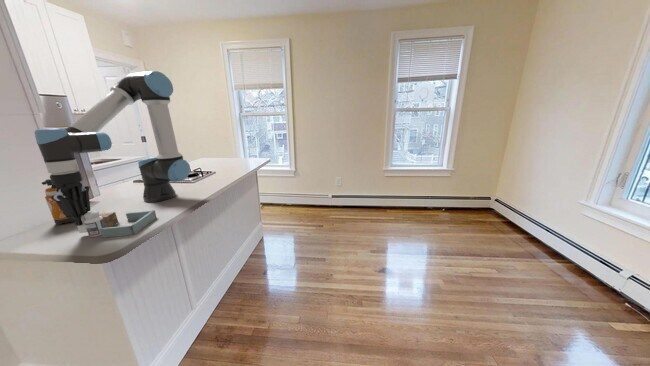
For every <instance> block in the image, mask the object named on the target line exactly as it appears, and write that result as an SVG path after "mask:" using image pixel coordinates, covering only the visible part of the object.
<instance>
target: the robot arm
mask: <svg viewBox="0 0 650 366" xmlns="http://www.w3.org/2000/svg"><path fill="white" fill-rule="evenodd" d="M109 90H110V92H109V93H107V95H105V96H104V97H103V98H101V99H100V100H99V101H98V102H97V103H95V104H94V105H93V106H92V107H91V108H90V109H88V110H87V111H86V112H85V113H84V114H83V115H81V116H80V117H79V118H77V120H75V121H73V123H71V124H70V125H69V126H68V127H67V128H64V127H61V128H60V127H59V128H38V129H36V130H34V137H35V142H36V144H37V146H38V149H39V151H40V153H41V156H42V159H43V161H44V164H45V167H46V169H47V172H48V174H50V175H49V178H50V180H51V182H52V184H53V185H55V186H56V187H57V190H56V191H57V194H56V195H55V196H51V199H53V200H54V201H55V202H56V203H57V204H58V206H59V207H60V209H61V210H62V212H63V213H64V215H65V216H66V218H73V219H74V222H73V223H74V224H75V226H76V227H77V229H78V233H79V234H81V233H82V234H83V233H88V232H87V229H86V226H85V223H84V221H85V220H86V218H85V217H84V214H86V213H89V212H91V204H90V203H91V202H90V193H89V191H90V186H89V185H83V183H82V181H83V177H82V174H81V172H80V171H79V170H80V168H79V165H78V162H77V158H76V155H79V154H87V153H96V152H97V153H98V152H104V151H105V152H106V151H109V150H111V148H112V145H113V143H112V139H111V137H110V136H109V134H108V133H106V132H104V131H101V130H102V129H103V128H104V127H106V125H107V124H109V122H111V121H112V120H113V119H114V118H115V117H116V116H117V115H119V113H121V111H123V110H124V109H125V108H126V107H127V106H132V105H134V103H136V102H137V101H138V100H140V101H141V102H142V103H143V104H145V105H146V107H147V112H148V115H149V120H150V123H151V127H152V131H153V136H154V139H155V140H154V141H155V144H156V147H157V152H158V155H157V156H155V157H148V158H144V159H140V160H138V169H139V172H140V175H141V179H142V182H143V186H144V188H143V196H142V197H143V201H144V202H145V203H156V202H162V201H166V200H170V199H173V198H174V197H176V195H177V194H176V191H175V189H174V187H173V186H172V184H171V183H170V182H173V183H174V182H175V183H177V182H182V181H185V180H186V179H187V178H188V177H189V175H190V173H191V166H190V163H189V162H188V161H187V160H185V159H184V156H183V154H182V153H180V152H179V149H178V144H177V141H176V135H175V131H174V128H173V127H174V126H173V122H172V119H171V118H172V117H171V114H170V108H169V106H168V105H169V104H170V103H171V98H170V97H171V96H172V95H173V93H174V86H173V83H172V82H171V79H170V78H169V77H167V75H166V74H164V73H163V72H161V71H158V70H146V71H140V72H131V73H128V74H127V75H125V76H124V77H123V78H121V79H120V80H119V81H117V82H116V83H114V84H113V86H111V87H110V88H109Z"/></svg>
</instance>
